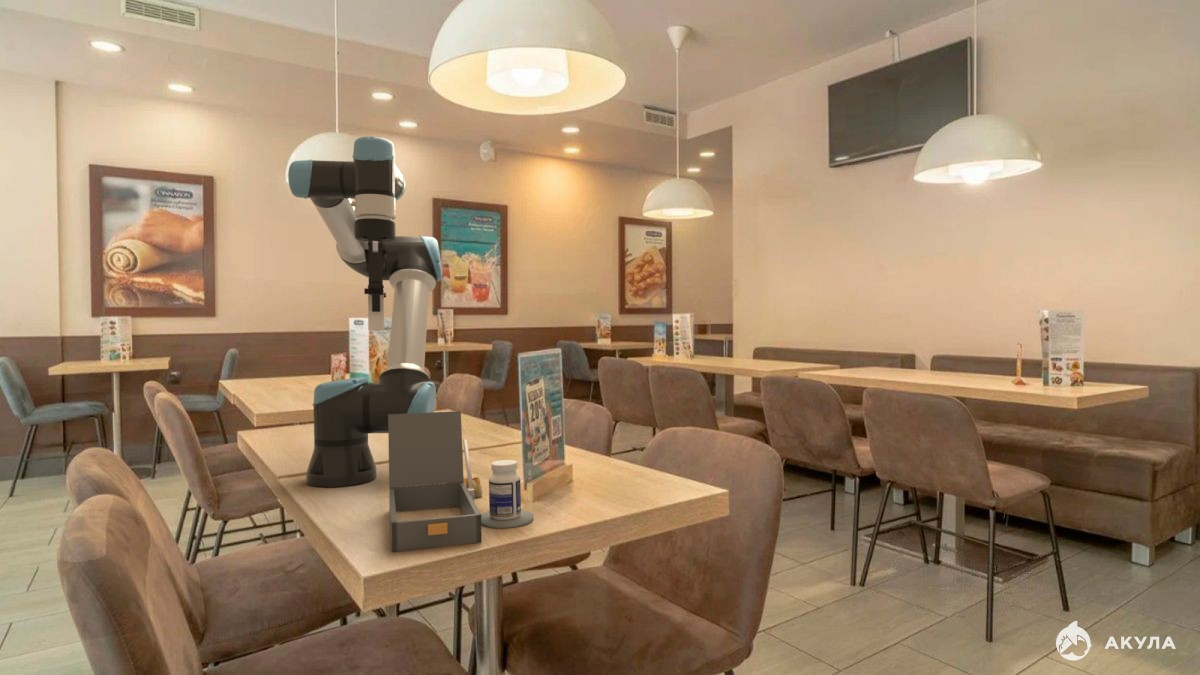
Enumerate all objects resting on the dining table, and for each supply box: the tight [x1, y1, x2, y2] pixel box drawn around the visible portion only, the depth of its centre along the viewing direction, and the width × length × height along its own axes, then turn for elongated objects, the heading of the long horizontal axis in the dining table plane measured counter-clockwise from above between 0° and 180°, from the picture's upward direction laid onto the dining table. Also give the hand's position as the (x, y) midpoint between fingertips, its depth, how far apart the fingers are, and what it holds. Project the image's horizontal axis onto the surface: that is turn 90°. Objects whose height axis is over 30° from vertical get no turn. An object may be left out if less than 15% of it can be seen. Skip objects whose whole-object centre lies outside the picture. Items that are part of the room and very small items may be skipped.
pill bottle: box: [488, 459, 522, 520], centre depth 121 cm, size 6×6×10 cm
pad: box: [481, 509, 534, 529], centre depth 121 cm, size 10×10×1 cm
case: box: [387, 410, 482, 553], centre depth 119 cm, size 29×15×18 cm, turn 19°
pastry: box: [455, 476, 483, 499], centre depth 138 cm, size 9×7×4 cm
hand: (376, 330), depth 128 cm, fingers open, 13 cm apart
